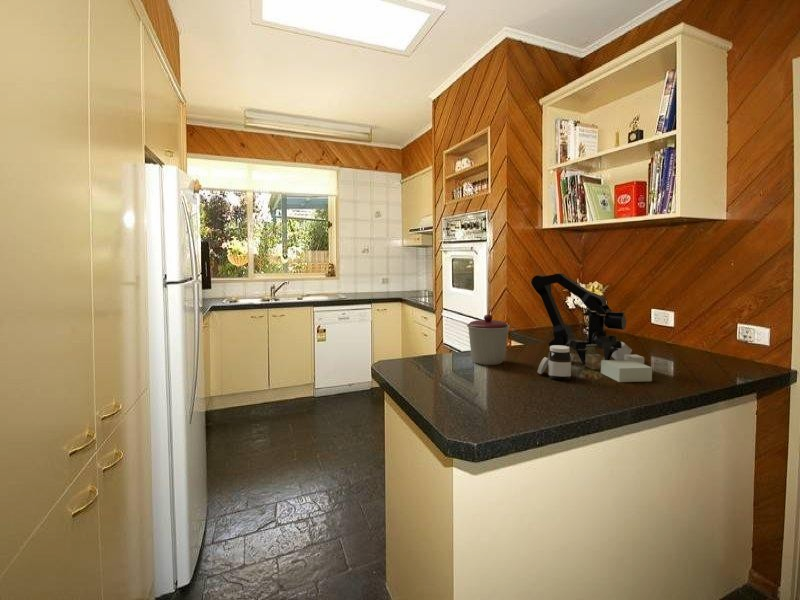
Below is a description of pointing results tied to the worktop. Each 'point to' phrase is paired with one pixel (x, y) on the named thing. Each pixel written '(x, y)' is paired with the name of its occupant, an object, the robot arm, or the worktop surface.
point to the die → (621, 352)
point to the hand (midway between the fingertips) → (594, 364)
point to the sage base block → (626, 370)
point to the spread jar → (557, 363)
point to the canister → (488, 340)
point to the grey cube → (634, 358)
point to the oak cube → (594, 361)
